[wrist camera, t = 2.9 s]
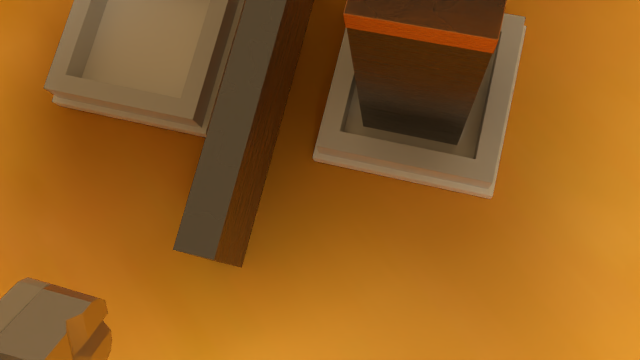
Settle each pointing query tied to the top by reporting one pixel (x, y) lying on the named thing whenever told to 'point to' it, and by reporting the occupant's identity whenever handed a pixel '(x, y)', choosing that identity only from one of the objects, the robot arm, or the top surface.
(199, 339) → the top surface
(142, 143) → the top surface
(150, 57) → the socket
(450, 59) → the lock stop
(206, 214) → the door edge rail
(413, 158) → the grey square frame
